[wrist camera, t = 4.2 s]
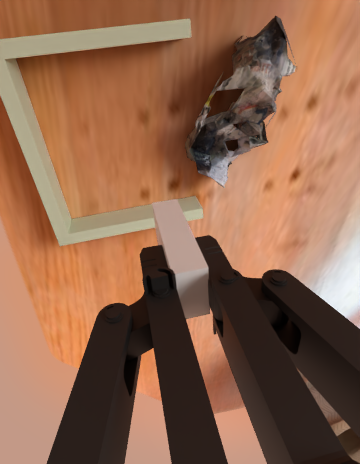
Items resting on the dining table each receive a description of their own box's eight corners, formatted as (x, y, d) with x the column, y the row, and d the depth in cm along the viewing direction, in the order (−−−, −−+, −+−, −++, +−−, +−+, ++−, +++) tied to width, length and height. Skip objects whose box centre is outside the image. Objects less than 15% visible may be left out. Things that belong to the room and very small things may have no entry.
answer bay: (181, 22, 31) (190, 18, 28) (195, 205, 43) (203, 217, 40) (-7, 42, 29) (-21, 41, 26) (63, 230, 41) (59, 246, 37)
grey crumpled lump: (147, 126, 33) (273, 39, 24) (174, 85, 40) (281, 6, 30) (205, 197, 39) (325, 150, 29) (220, 151, 45) (322, 101, 36)
